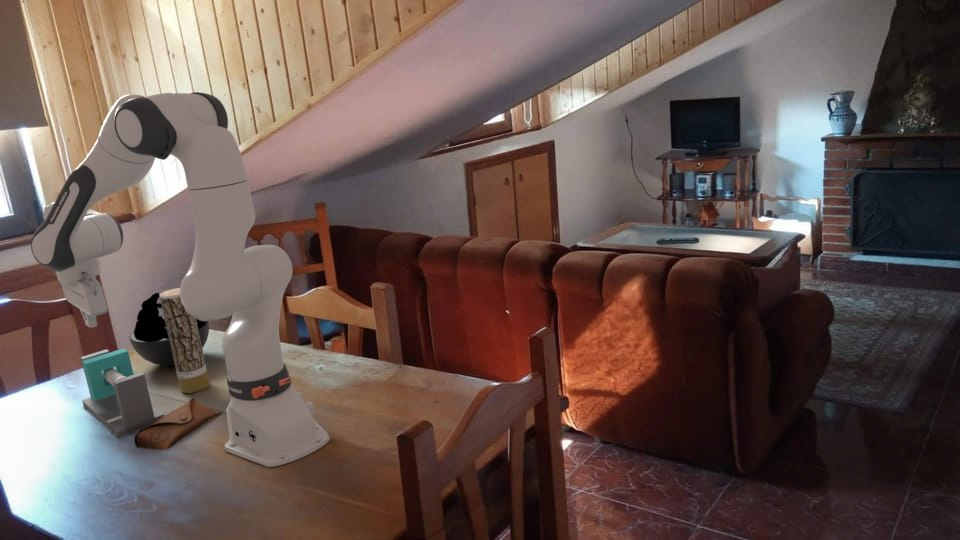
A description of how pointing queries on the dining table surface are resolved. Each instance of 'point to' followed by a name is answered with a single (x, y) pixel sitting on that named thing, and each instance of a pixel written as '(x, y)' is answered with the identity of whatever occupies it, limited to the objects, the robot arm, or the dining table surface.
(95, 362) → the teal upright slab
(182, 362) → the log-textured cylinder
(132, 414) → the pipe stand
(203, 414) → the sunglasses case
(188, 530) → the dining table surface
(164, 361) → the bowl of black rocks
